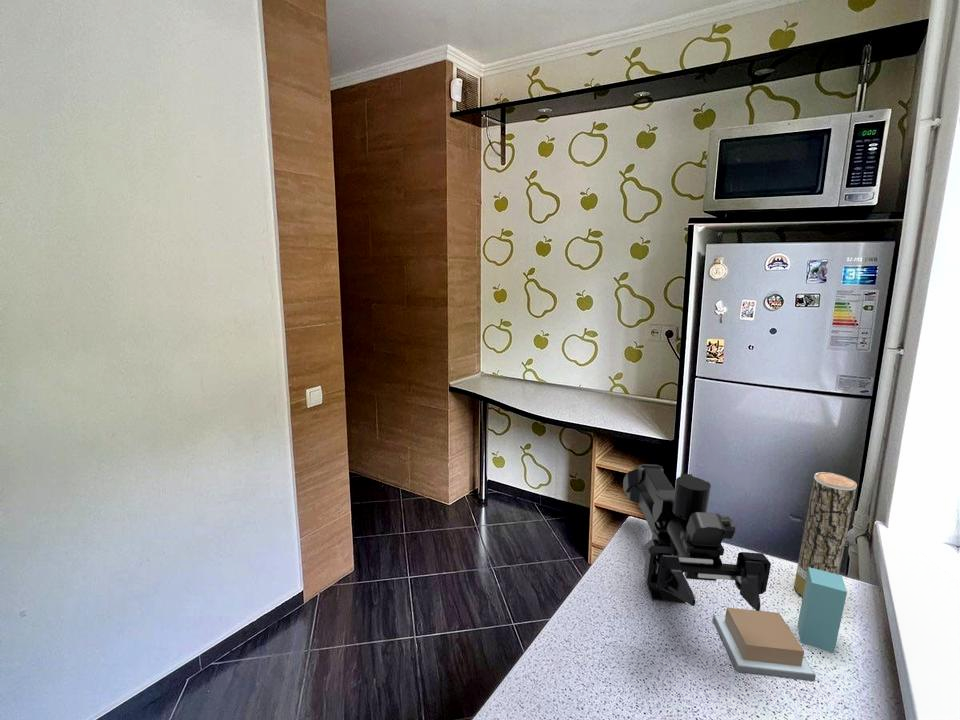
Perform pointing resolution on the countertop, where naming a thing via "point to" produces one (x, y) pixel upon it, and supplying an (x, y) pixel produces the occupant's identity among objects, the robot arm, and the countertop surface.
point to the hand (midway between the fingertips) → (726, 605)
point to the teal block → (821, 609)
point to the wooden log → (825, 526)
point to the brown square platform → (762, 644)
